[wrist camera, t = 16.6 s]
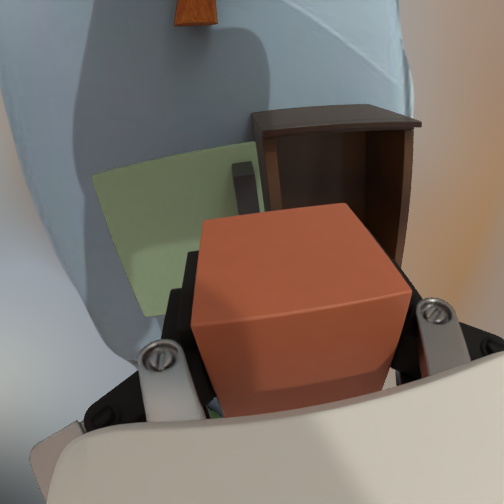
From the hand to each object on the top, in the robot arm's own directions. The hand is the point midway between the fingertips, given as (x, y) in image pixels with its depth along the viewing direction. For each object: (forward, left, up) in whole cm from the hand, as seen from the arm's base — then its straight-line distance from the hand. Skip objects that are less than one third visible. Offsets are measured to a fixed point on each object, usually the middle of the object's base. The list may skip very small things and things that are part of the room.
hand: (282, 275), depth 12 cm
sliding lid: (+3, -5, -10) cm, 11 cm away
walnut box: (+3, +6, -18) cm, 19 cm away
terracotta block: (0, 0, 0) cm, 0 cm away
